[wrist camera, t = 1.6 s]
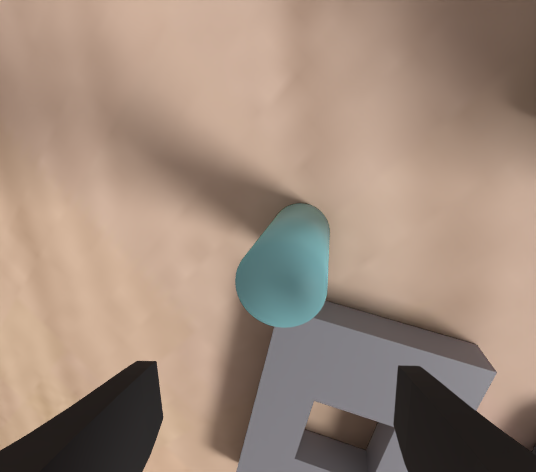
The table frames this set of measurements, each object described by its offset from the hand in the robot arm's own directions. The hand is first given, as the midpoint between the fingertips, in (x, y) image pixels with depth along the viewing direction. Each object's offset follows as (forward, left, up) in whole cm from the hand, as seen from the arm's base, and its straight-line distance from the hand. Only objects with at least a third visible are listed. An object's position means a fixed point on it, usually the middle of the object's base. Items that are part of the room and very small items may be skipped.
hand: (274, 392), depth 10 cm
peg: (-2, -1, -11) cm, 11 cm away
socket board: (+10, +5, -11) cm, 16 cm away
